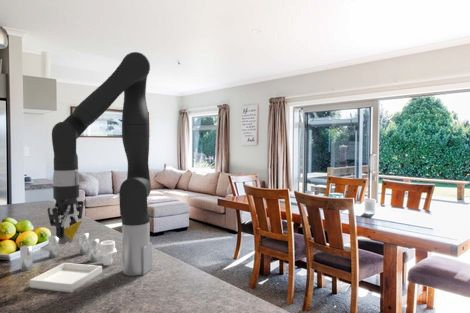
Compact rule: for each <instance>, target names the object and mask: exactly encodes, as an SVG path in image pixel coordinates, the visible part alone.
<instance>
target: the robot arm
mask: <svg viewBox="0 0 470 313" xmlns="http://www.w3.org/2000/svg"><path fill="white" fill-rule="evenodd" d="M150 70H151V64H150V60H149V58H148V57H147V56H146V55H145V54H143V53H141V52H137V51H134V52H133V51H132V52H130V53H127V54H126V55H125V56H124V57H123V59H122V60H121V62H120V64H119V65H118V66H117V67H116V69H115V70H114V71H113V72H112V73H111V74H110V75H109V77H108V78H107V79H106V80H105V81H103V82H102V83H101V85H99V86H98V87H97V88H95V90H94V91H92V92H91V93H90V94H89V95H88V96H87V97H85V99H83V100H82V101H81V102H80V103H79V104H78V105H77V106H76V107H74V109H73V111H72V113H71V114H70V115H68V116H67V117H66V118H65V119H64V120H63V121H60V122H57V123H55V124H54V126H53V127H52V130H51V142H52V149H53V151H52V152H53V175H52V188H53V189H52V192H53V193H52V194H53V195H52V196H53V199H54V200H55V204H54V206H53V207H48V208H47V215H48V218H49V219H48V220H49V225H50V226H51V227H55V234H56V236H57V238H61V239H62V238H64V229H65V222H66V220H67V219H68V220H69V226H71V225H73V224H75V223H78V222H79V221H80V220H81V219H82V218H83V213H84V212H83V210H84V204H85V203H84V200H78V199H79V197H80V174H79V159H78V158H79V157H78V154H77V140H78V138H79V137H80V136H81V135H82V134H83V133H84V132H85V131H86V130H87V129H88V128H89V126H91V125H93V123H94V122H96V121H97V120H99V118H100V117H102V115H103V114H104V113H105V112H106V111H107V110H108V109H110V107H111V105H113V104H114V103H115V101H116V100H117V99H118V98H119V97H120V95H122V94H123V104H122V105H123V107H122V113H121V114H122V116H121V139H122V144H123V148H124V153H125V157H126V160H127V174H126V175H127V176H126V179H125V180H124V181H123V182H122V183H121V184H120V187H119V192H118V193H119V194H118V195H119V198H118V199H119V213H120V214H119V215H120V217H121V244H122V245H121V246H122V247H121V248H122V249H121V250H122V252H121V254H122V274H123V275H125V276H130V277H133V276H145V275H146V274H147V273H149V272H150V271H151V270H152V269H153V242H151V241H150V240H151V239H150V238H151V237H150V233H151V232H150V231H151V230H150V226H151V225H150V221H151V220H150V213H149V211H148V197H149V196H150V194H151V191H152V186H151V176H150V168H149V166H150V165H149V155H150V154H149V153H150V117H149V116H150V115H149V110H148V105H147V99H146V96H147V95H146V92H147V91H146V90H147V81H148V75H149V73H150ZM77 233H78V231H77V232H76V234H77Z"/></svg>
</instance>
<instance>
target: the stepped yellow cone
mask: <svg viewBox="0 0 470 313" xmlns="http://www.w3.org/2000/svg"><path fill="white" fill-rule="evenodd" d="M82 222H83V221H82V220H79V221H78V222H77V223H75V224H73V225H71V226H70V225H69V226H67V227H64V238H62V239H61V238H59V242H58V244H59V245H66V244H67V243H72V242H73V241H74V237H75V235H76V234H77V233H78V230H79V228H80V226H81V224H82ZM76 232H77V233H76Z"/></svg>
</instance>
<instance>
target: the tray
mask: <svg viewBox="0 0 470 313" xmlns="http://www.w3.org/2000/svg"><path fill="white" fill-rule="evenodd" d="M102 274H103V266H102V265H93V264H82V263H73V262H72V263H70V262H62V263H60V264H59V265H56V266H55V267H53V268H51V269H49V270H47V271H45V272H43V273H41V274H39V275H36V276H35V277H33V278H31V279H29V288H30V289H37V290H38V289H39V290H45V291H46V290H47V291H54V292H55V291H56V292H62V293H63V292H64V293H72V294H73V292H75V291H77V290H78V289H80V288H81V287H83V286H85V285H86V284H88V283H89V282H91V281H92V280H94V279H95V278H97V277H99V276H100V275H102Z"/></svg>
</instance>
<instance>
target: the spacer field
mask: <svg viewBox="0 0 470 313" xmlns="http://www.w3.org/2000/svg"><path fill="white" fill-rule="evenodd" d="M89 233H90V232H81V233H79V234H78V248H79V249H78V252H79V255H80V256H81V255H83V256H84V255H88V256H89V257H88V258H89V259H88V261H89V262H90V263H95V262H96V263H97V262H98V261H100V259H101V258H100V257H101V256H98V251H99V250H100V238H98V237H96V238H93V237H92V238H90V237H89V236H90V234H89ZM58 242H59V238H57V236H56V235H50V236H48V258H49V259H56V258H59V257H60V244H58ZM19 251H20V253H19V254H20V256H19V257H20V271H21V272H27V271H31V270H33V268H34V267H33V266H34V265H33V263H34V262H33V259H34V258H33V245H31V244H30V245H29V244H28V245H21V246H20V248H19Z"/></svg>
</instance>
